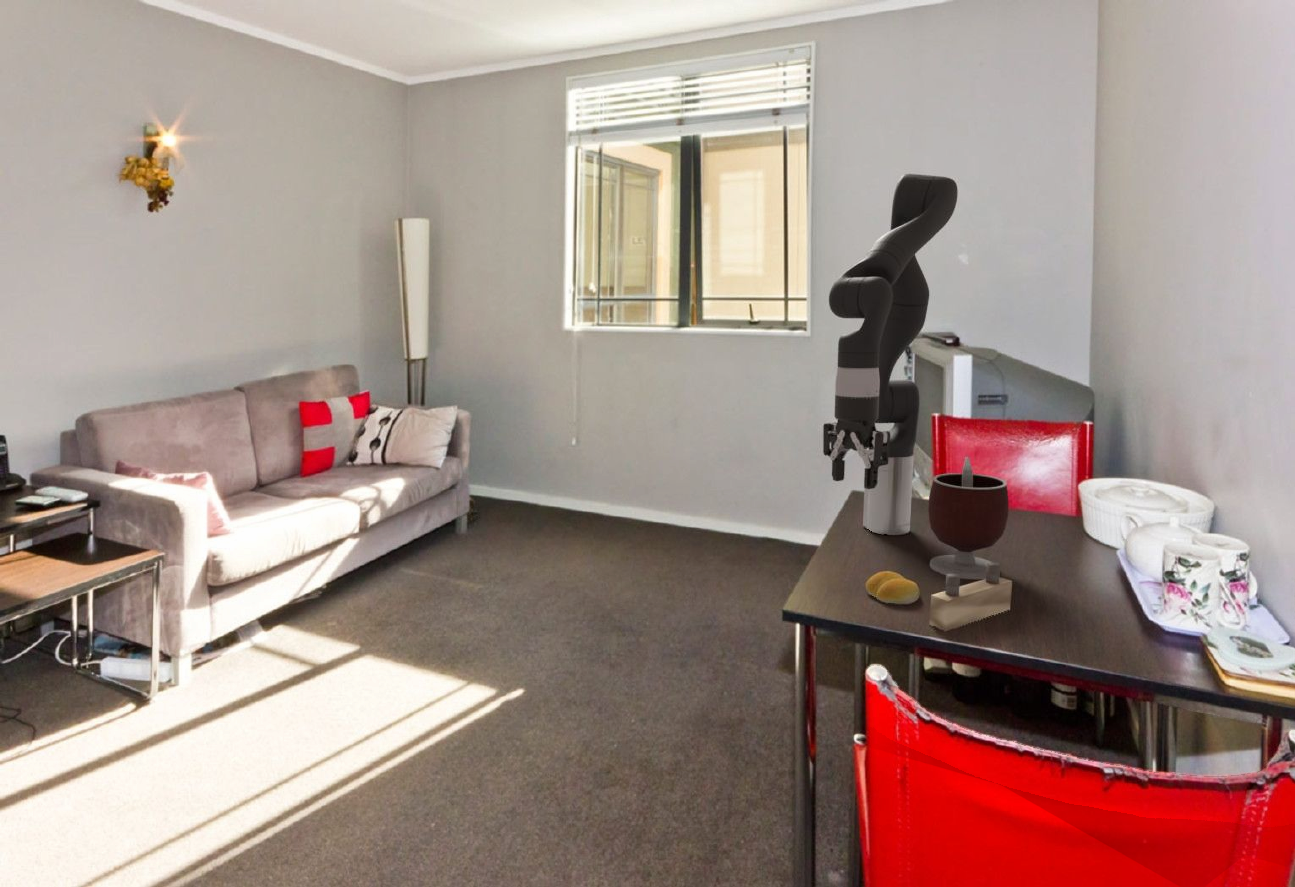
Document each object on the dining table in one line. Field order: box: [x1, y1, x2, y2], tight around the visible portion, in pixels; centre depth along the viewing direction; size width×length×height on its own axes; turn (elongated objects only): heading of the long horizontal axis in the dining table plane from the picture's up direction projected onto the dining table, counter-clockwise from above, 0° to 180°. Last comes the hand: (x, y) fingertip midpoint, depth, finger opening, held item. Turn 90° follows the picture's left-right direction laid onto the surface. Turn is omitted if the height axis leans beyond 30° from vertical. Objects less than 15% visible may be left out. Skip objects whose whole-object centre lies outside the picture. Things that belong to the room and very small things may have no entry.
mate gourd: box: [927, 456, 1010, 580], centre depth 150 cm, size 16×14×20 cm
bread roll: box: [865, 570, 920, 605], centre depth 137 cm, size 8×9×4 cm
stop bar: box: [929, 561, 1013, 632], centre depth 127 cm, size 3×16×8 cm, turn 121°
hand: (853, 484), depth 142 cm, fingers open, 7 cm apart
